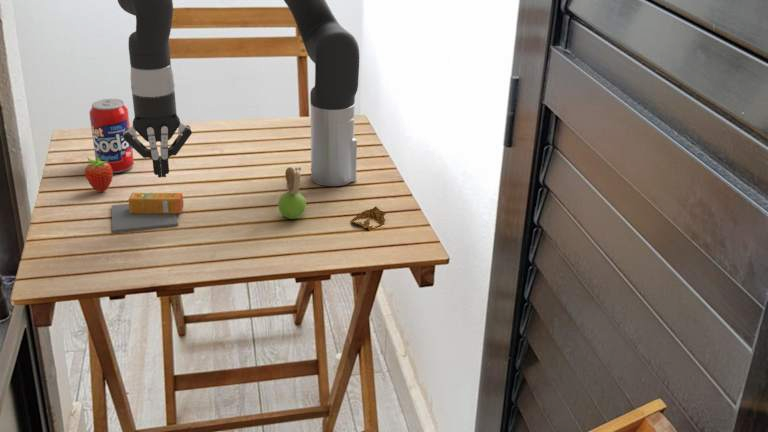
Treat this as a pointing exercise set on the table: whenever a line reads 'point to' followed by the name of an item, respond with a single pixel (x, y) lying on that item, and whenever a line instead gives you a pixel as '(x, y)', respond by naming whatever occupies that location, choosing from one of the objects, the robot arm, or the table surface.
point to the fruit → (99, 174)
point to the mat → (139, 219)
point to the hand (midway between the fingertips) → (161, 175)
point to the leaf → (370, 214)
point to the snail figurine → (292, 196)
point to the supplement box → (155, 203)
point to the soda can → (111, 133)
